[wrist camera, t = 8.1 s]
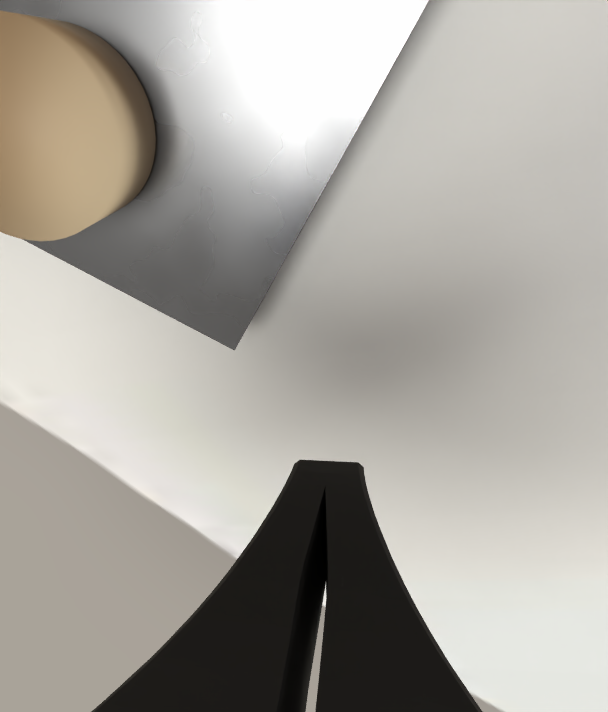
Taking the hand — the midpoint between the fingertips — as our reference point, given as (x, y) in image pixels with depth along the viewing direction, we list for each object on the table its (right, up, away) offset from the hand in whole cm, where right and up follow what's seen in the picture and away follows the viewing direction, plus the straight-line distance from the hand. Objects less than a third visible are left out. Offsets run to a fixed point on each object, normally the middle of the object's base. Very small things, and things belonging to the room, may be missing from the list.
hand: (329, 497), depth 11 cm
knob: (-7, +9, +3) cm, 12 cm away
